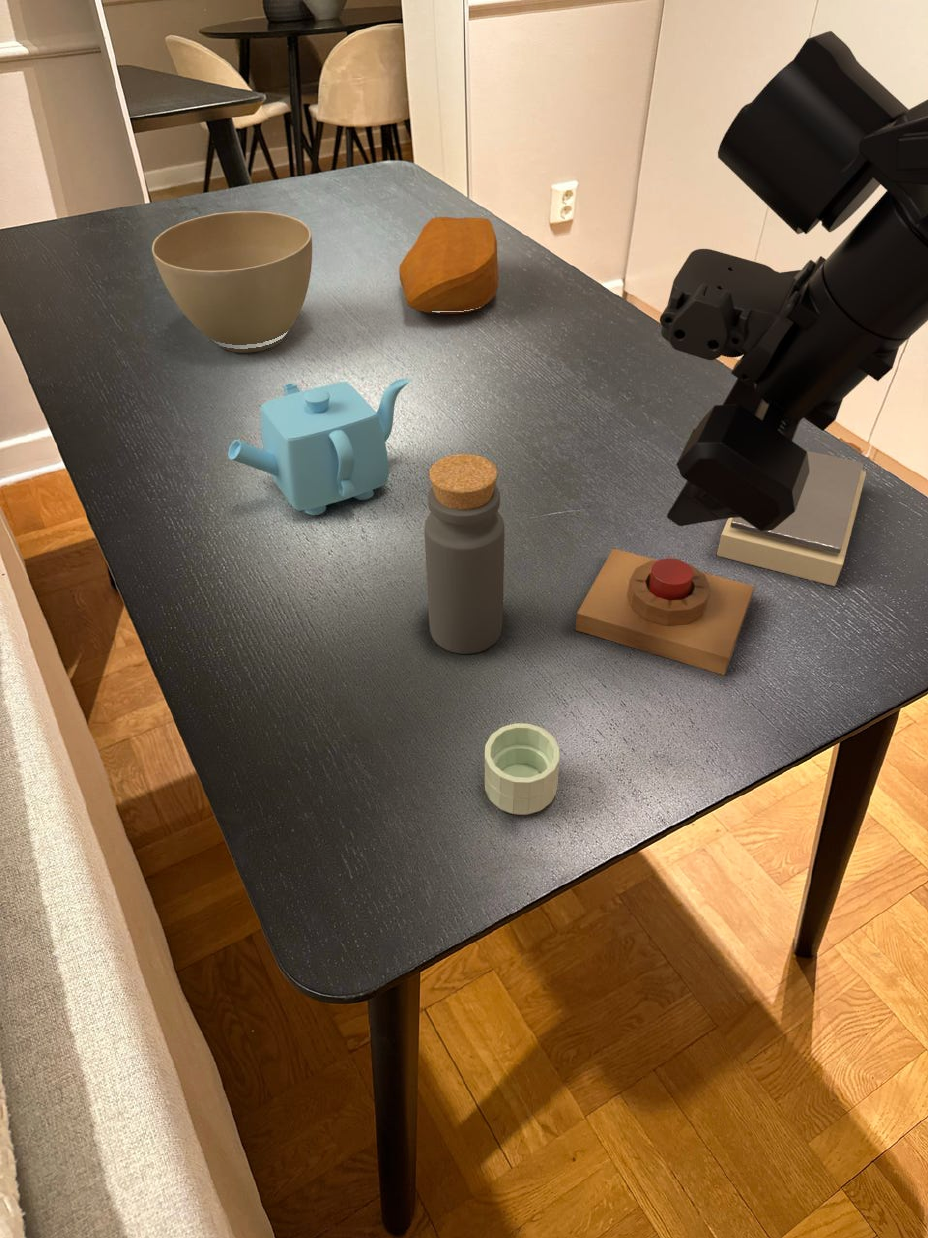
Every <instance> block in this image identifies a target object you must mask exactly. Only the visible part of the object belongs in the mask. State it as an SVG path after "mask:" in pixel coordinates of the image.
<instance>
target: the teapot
mask: <svg viewBox="0 0 928 1238" xmlns="http://www.w3.org/2000/svg"><path fill="white" fill-rule="evenodd" d="M410 381H411V379H410V378H408V377H407V378H401V379H397V380H395V381H393V382H391V383H390V384H389V385H388V386H387V387H386V388H385V390H384V391H383V393H382V395H381V399H380V402H379V405H378V409H377V411H376V410H375V409H374V408H373V406H371V404H370V403H369V402H368V401H367V400H366V399H365V397H363V396H362V395H361V394H360V393H359V392H358V391H357V390H356V389H355V388H354V387H353V386H352V385H351V384H350V383H348V382H347V381H340V382H334V383H329V384H325V385H321V386H317V387H312V388H309V389H304V390H300V389H299V388H298V385H297V384H296V383H295V382H288V383H286V384H282V387H283V392H284V395H283V396H279V397H277V398H273V399H271V400H267V401H264V402H263V403H261V405H260V436H261V446H262V449H261V448H259V447H256V446H254V445H251V444H249V443H247V442H245V441H243V440H240V439H235V440H233V442H232V443H231V444H230V446H229V448H228V451H227V452H228V453H227V456H228V458H229V459H230V460H232V461H234V462H237V463H240V464H243V465H246V466H248V467H250V468H254V469H255V470H258V471H261V472H264V473H267V474H270V476H271V478H272V479H273V481H274V483H275V484H276V486H277V487H278V488H279V490H280V491H281V493H282V494H283V496H284V497H285V498H286V500H287V501H288V503H289V504H290V505H291V506H292V508H293V509H294V510H296V511H299V512H300V511H304V512H305V513H306V514H307V515H309V516H318V515H321V514H323V513H324V512H325V511H326V510H327V506H328V505H331V504H335V503H339V502H341V501H345V500H348V499H351V498H354V499H356V500H360V501H365V500H369V499H371V498H372V497H373V496H374V495H375V493H374V490H376V489H378V488H380V487H383V486H385V485H386V484H388V479H389V474H390V463H389V457H388V450H387V444H386V442H387V441H388V440H389V438H390V435H391V433H392V430H393V425H394V414H395V406H396V401H397V398H398V396H399V394H400V392H401V391H402V389H404V388H405V387H406V386H407V385H408V384H409V383H410Z"/></svg>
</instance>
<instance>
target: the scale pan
mask: <svg viewBox="0 0 928 1238" xmlns="http://www.w3.org/2000/svg"><path fill="white" fill-rule="evenodd" d="M806 451H807V454H808V462H809V470H810V472H809V475H808V477H807V480H806V483H805V486H804V488H803V491H802V494H801V496H800V499H799V502H798V505H797V507H796V510H795V512H794V513H793V514H792V515H790V516H789V517H788V518H787V519H785V520H784V521H783V522H782V523H781V524H779V525H778V526H777V527H776V528H775V529H773V530H771V531H760V530H758V529H757V528H755V527H754V526H753V525H751V524H750V523H748V522H747V521H745V520H744V519H742V518H741V517H737V518H733V519H732V522H731V525H730V527H731V528H735V529H739V530H743V531H747V532H751V533H755V534H759V535H763V536H767V537H771V538H775V539H779V540H783V541H787V542H791V543H795V544H799V545H803V546H807V547H811V548H815V549H819V550H823V551H827V552H831V553H835V554H840V551H841V548H842V544H843V540H844V537H845V533H846V529H847V525H848V521H849V517H850V514H851V510H852V506H853V502H854V498H855V495H856V491H857V487H858V483H859V479H860V475H861V472H862V471H863V467H864V462H862V461H856V460H851V459H848V458H842V457H837V456H833V455H828V454H824V453H820V452H815V451H810V450H806Z"/></svg>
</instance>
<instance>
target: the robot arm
mask: <svg viewBox="0 0 928 1238" xmlns="http://www.w3.org/2000/svg"><path fill="white" fill-rule="evenodd" d="M723 135H724V136H723V137H722V140H721V141H720V144H719V146H718V147H719V148H718V151H717V158H718V159H719V160H720V161H721V162H722V163H723V164H724V165H725V167H727V168H728V169H729V170H730V171H731V172H732V173H733V174H734V175H735V176H736V177H737V178H738V179H739V180H741V181H742V182H743V184H745V185H746V186H747V188H749V189H750V190H751V191H752V192H753V193H754V194H755V195H756V196H757V197H758V198H759V199H760V200H761V201H762V202H764V204H765V205H766V206H767V207H769V209H770V210H772V211H773V212H774V213H775V214H776V215H777V217H779V218H780V219H781V220H782V221H783V222H784V223H785V224H786V225H787V226H788V227H789V228H790V229H791V230H792V231H793V232H794V233H795V234H796V235H801V234H803V233H804V234H805V235H807V234H809V233H810V232H811V231H812V230H813V229H814V228H815V227H816V226H817V225H818V224H819V223H820V222H821V226H822V227H823V228H824V229H825V230H826V231H827V233H833V232H834V231H836V230H837V229H838V228H839V227H840V226H842V225H843V224H844V223H845V222H846V221H848V220H849V219H850V218H851V217H852V216H853V215H854V214H855V213H856V212H857V211H858V210H859V209H860V208H861V207H862V206H863V204H865V202H866V201H867V200H869V198H871V196H872V195H873V194H874V193H875V191H876V190H878V188H879V187H880V186H882V187H883V188H884V190H886V191H885V192H884V193H883V194H882V196H880V198H879V199H878V200H877V201H876V203H875V204H874V205H873V206H872V207H871V208H870V209H869V210H868V212H867V213H866V214H865V215H864V216H863V217H862V218H861V219H860V221H859V222H858V223H857V224H855V226H854V228H853V229H852V230H851V231H849V233H848V234H847V235H846V236H845V238H844V239H843V240H842V241H841V242H840V244H838V245H837V247H836V248H835V249H834V250H833V251H832V252H831V254H829V256H828V257H827V258H824V257H823V256H822V255H820V256H819V257H818V258H817V260H816V261H814V260H812V259H810V260H809V261H807V262H806V263H805V265H804V266H803V267H802V268H801V269H796V270H789V271H781V272H780V271H776V270H774V269H773V268H771V267H770V266H768V265H766V264H763V263H761V262H756V261H753V260H749V259H746V258H742V257H739V256H735V255H732V254H729V253H726V252H722V251H718V250H715V249H711V248H697V249H695V250H693V251H692V252H690V253H689V255H688V257H687V258H686V259H685V261H684V263H683V264H682V266H681V267H680V270H679V271H678V272H677V274H676V275H675V277H674V279H673V281H672V285H671V289H670V293H669V297H668V301H667V304H666V307H665V308H664V310H663V312H662V313H661V315H660V317H659V324H660V325H661V330H660V334H661V337H663V339H664V340H666V341H667V342H668V343H669V344H670V346H671V347H672V348H673V349H674V350H675V351H678V352H681V353H685V354H688V355H690V356H694V357H697V358H700V359H702V360H703V359H704V360H706V361H715V360H716V359H719V358H721V357H724V358H725V357H726V358H739V357H740V358H739V359H738V360H737V362H735V364H734V366H733V368H732V370H731V372H730V374H731V375H733V376H734V377H735V378H736V380H735V382H734V383H733V385H732V387H731V389H730V391H729V393H728V394H727V396H726V398H725V399H724V401H723V403H722V404H716V405H715V404H714V405H713V406H712V407H711V409H709V410H708V412H707V413H706V414H705V415H704V416H703V417H702V419H701V420H700V422H698V423H699V424H698V425H697V426H696V427H695V429H693V430H692V432H691V434H690V436H689V438H688V440H687V441H686V444H685V446H684V448H683V449H682V451H681V454H680V456H679V457H678V460H677V462H676V467H677V469H678V472H679V473H680V476H681V478H683V479H685V480H686V482H685V483H684V485H683V487H682V489H681V491H680V492H679V494H678V496H677V497H676V499H675V500H674V502H673V504H672V505H671V507H670V509H669V510H668V512H667V514H666V518H667V519H668V520H669V521H671V522H673V524H675V525H677V526H679V527H685V526H690V525H691V526H692V525H697V524H701V523H709V522H713V521H719V520H728V518H737V517H741V518H742V519H744V520H745V521H747V522H748V523H750V524H751V525H753V526H754V527H755V528H757V529H758V530H760V531H771V530H773V529H775V528H776V527H777V526H778V525H779V524H781V523H782V522H783V521H784V520H785V519H787V518H788V517H789V516H790V515H792V514H793V513H794V512H795V510H796V507H797V505H798V502H799V499H800V496H801V494H802V491H803V488H804V486H805V483H806V480H807V477H808V475H809V472H810V470H809V462H808V454H807V451H808V450H806V449H804V448H803V447H801V445H799V444H797V443H795V442H794V440H795V436H796V434H797V431H798V429H799V426H800V424H801V421H802V420H803V419H805V420H806V421H808V422H809V423H811V424H812V425H813V426H815V427H816V428H818V429H819V430H820V431H822V432H824V431H825V430H826V429H827V428H828V427H829V426H831V425H832V424H833V423H834V422H835V421H836V420H837V418H838V414H839V411H840V409H841V406H842V403H843V401H844V399H845V398H846V397H847V396H848V395H849V394H850V393H851V392H852V391H853V390H854V389H856V387H858V386H859V385H860V384H861V383H862V382H863V381H864V380H865V379H866V378H867V377H868V376H869V377H870V378H872V379H873V380H874V381H876V382H879V381H880V380H881V379H883V378H884V377H885V376H886V375H887V374H888V373H889V372H890V371H891V370H893V368H894V365H895V362H896V358H897V356H898V352H899V349H900V347H901V346H902V345H903V344H904V343H906V341H907V340H908V339H909V338H911V336H913V335H914V334H915V333H916V332H917V331H918V330H919V329H920V328H922V327H923V326H924V325H925V324H926V323H927V322H928V99H926V100H924V101H922V102H920V103H918V104H916V105H915V106H912V107H911V108H908V107H907V106H905V105H904V104H903V102H901V101H900V100H899V99H898V98H897V97H896V96H895V95H894V94H893V93H892V92H891V91H890V90H888V89H887V88H886V87H885V86H884V85H883V84H882V83H881V82H880V81H879V80H877V78H875V77H874V76H873V75H872V74H871V72H869V71H868V70H867V69H866V68H864V67H863V66H862V65H861V63H860V62H859V61H858V60H857V59H856V56H855V54H854V53H853V51H852V50H851V48H850V47H849V46H848V45H847V44H846V42H844V41H843V40H842V39H841V38H840V37H839V36H838V35H837V34H835V32H833V30H829V31H825V32H822V33H819V34H817V35H814V36H811V37H809V38H807V39H806V40H805V41H804V43H803V45H802V46H801V48H800V49H799V51H798V52H797V54H796V55H795V56H794V58H793V59H792V60H791V61H790V62H788V63H787V64H786V65H785V66H784V67H783V68H781V70H779V71H778V72H777V73H776V74H775V76H774V77H772V78H771V79H770V80H769V81H768V83H766V84H765V86H764V87H763V88H762V89H761V90H760V91H759V93H758V94H756V96H755V97H754V99H753V100H752V101H751V102H749V103H747V104H745V105H744V106H743V107H741V109H740V110H739V111H738V113H736V116H735V117H734V118H733V120H732V122H731V123H730V125H729V126H728V129H727V130H726V132H725V133H724V134H723Z"/></svg>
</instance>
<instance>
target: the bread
mask: <svg viewBox="0 0 928 1238" xmlns="http://www.w3.org/2000/svg"><path fill="white" fill-rule="evenodd" d="M398 276H399V282H400V285H401V288H402V291H403V294H404V298H405V301H406V304H407V305H408V306H409V307H410V308H411V309H413V310H416V311H419V312H423V311H424V312H423V313H427V312H432V311H464V310H470V309H476V308H479V307H481V308H483V307H485V306H486V305H487V304H489V302H491V301H492V300H493V298H494V297H495V295H496V294H497V291H498V287H499V286H498V285H499V279H500V278H499V264H498V240H497V236H496V233H495V230H494V226H493V224H492V222H491V221H490V219H489V218H487V217H451V216H435V217H433V218H431V219H430V220H429V221H428V222H427V223H426V224H425V225H423V227H422V229H421V231H420V233H419V235H418V237H417V239H416V240H415V242H414V243H413V245H412V247H411V248H410V249H409V250H408V252H407V253H406V254H405V257H403V260H402V261H401V263H400V265H399V268H398ZM493 296H494V297H493ZM485 304H486V305H485ZM482 306H483V307H482ZM481 308H479V309H476V310H471V311H464V312H440V313H439V314H445V315H459V314H465V313H466V314H467V313H470V312H473V311H478V310H480V309H481Z"/></svg>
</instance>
